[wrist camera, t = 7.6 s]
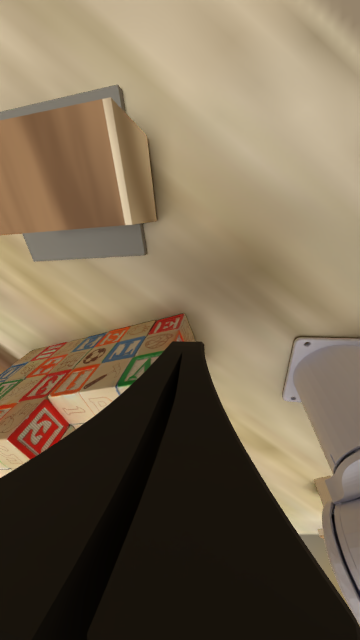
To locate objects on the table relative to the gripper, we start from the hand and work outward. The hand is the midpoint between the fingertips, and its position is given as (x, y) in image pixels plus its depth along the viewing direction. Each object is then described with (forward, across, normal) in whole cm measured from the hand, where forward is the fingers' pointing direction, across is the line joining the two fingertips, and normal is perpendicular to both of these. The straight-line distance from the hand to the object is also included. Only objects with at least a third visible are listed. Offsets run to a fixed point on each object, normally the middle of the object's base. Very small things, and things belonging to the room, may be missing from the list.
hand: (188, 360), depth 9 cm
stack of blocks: (+11, +11, +8) cm, 18 cm away
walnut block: (+7, +3, -8) cm, 11 cm away
